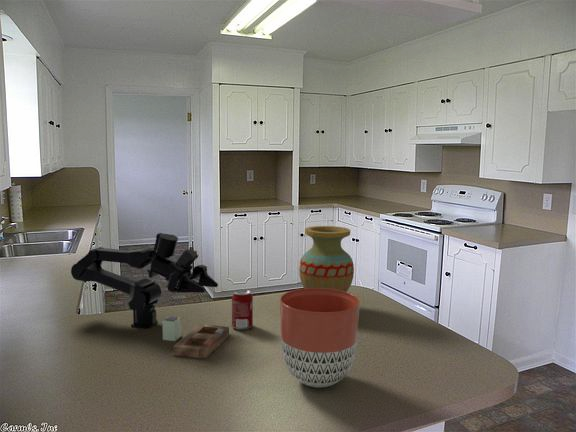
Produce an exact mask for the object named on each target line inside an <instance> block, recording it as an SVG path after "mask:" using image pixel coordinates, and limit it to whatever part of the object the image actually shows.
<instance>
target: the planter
mask: <svg viewBox="0 0 576 432" xmlns="http://www.w3.org/2000/svg"><path fill="white" fill-rule="evenodd" d="M279 298H280V299H279V311H280V312H279V313H280V314H279V315H280V333H281V334H280V335H281V350H282V351H281V352H282V356H283V360H284V363H285V366H286V368H287V370H288V372H289V373H290V374H291V375H292V377H294V378H295V379H296V380H297V381H298V382H299V383H301V384H303V385H305V386H307V387H311V388H318V389H321V388H328V387H331V386H333V385H336V384H338V383H339V382H341V380H343V379H344V378H345V377H346V376H347V375H348V373H349V372H350V370H351V368H352V365H353V363H354V359H355V356H356V350H357V349H356V347H357V346H356V345H357V337H358V327H359V319H360V318H359V316H360V308H361V307H360V305H361V301H360V299H359V298H358V297H357V296H356V295H354V294H353V293H350V292H348V291H347V292H344V291H340V290H335V289H328V288H304V287H303V288H298V289H294V290H290V291H287V292H285V293H282V295H281V296H280V297H279Z"/></svg>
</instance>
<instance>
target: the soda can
mask: <svg viewBox="0 0 576 432" xmlns="http://www.w3.org/2000/svg"><path fill="white" fill-rule="evenodd" d="M253 298H254V297H253V295H252V293H251V290H249V289H243V288H241V289H236V290H234V291H233V294H232V296H231V327H232V328H234V329H235V330H240V331H245V330H249V329H250V328H252V327H253V323H254V322H253V321H254V319H253V316H254V315H253V314H254V313H253V309H254V308H253V305H254V304H253V300H254V299H253Z"/></svg>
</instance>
